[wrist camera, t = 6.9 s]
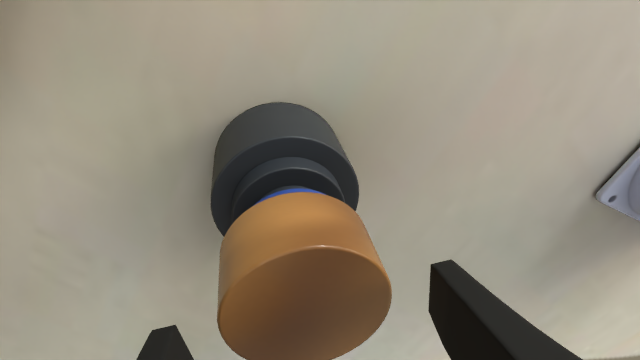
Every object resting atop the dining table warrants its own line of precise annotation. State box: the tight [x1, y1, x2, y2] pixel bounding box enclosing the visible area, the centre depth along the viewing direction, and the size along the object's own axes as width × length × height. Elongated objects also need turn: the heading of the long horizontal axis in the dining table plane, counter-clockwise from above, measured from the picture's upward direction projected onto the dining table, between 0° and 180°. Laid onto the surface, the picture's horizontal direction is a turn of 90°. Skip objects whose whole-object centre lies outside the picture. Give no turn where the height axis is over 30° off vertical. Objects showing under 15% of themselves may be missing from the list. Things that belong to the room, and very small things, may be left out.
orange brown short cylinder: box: [217, 192, 392, 360], centre depth 12 cm, size 5×5×3 cm
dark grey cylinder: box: [211, 103, 359, 236], centre depth 16 cm, size 6×6×6 cm
